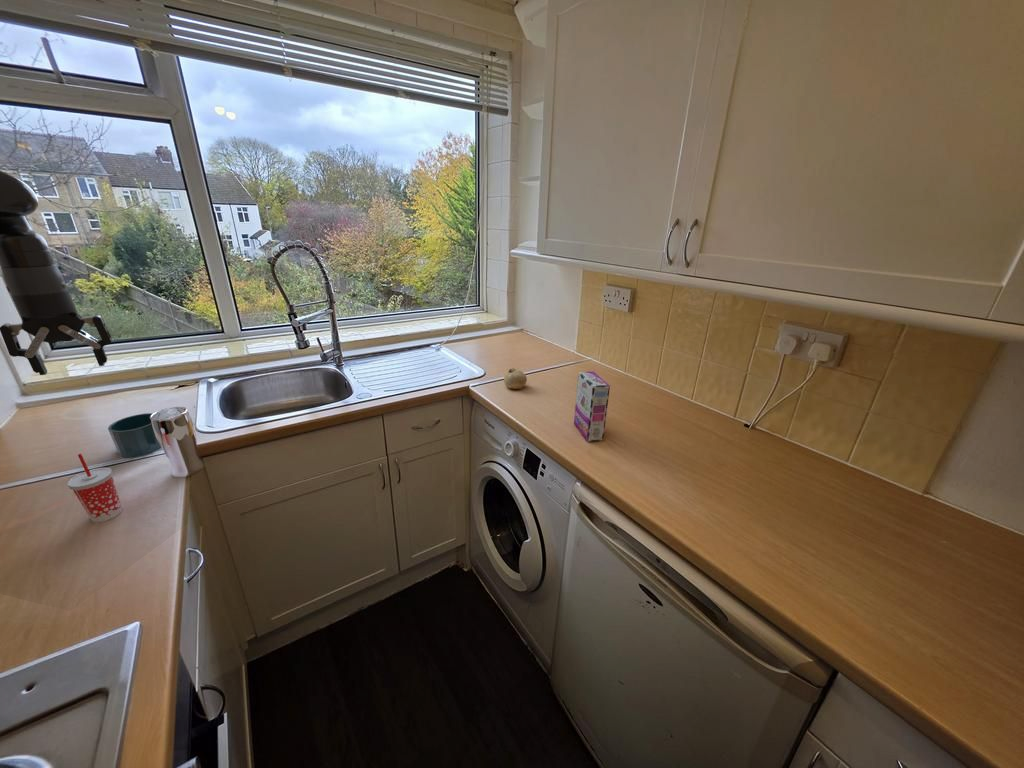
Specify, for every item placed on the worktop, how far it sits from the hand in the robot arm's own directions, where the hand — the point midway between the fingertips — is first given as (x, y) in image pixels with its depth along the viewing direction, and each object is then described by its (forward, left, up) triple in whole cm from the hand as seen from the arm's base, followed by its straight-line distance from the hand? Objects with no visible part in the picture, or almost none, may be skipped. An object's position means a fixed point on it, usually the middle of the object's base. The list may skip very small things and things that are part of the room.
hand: (73, 369), depth 84 cm
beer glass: (+8, -13, -26) cm, 30 cm away
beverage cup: (-8, -15, -26) cm, 31 cm away
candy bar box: (+68, -93, -26) cm, 118 cm away
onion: (+88, -61, -26) cm, 110 cm away
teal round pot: (+8, +5, -26) cm, 28 cm away
